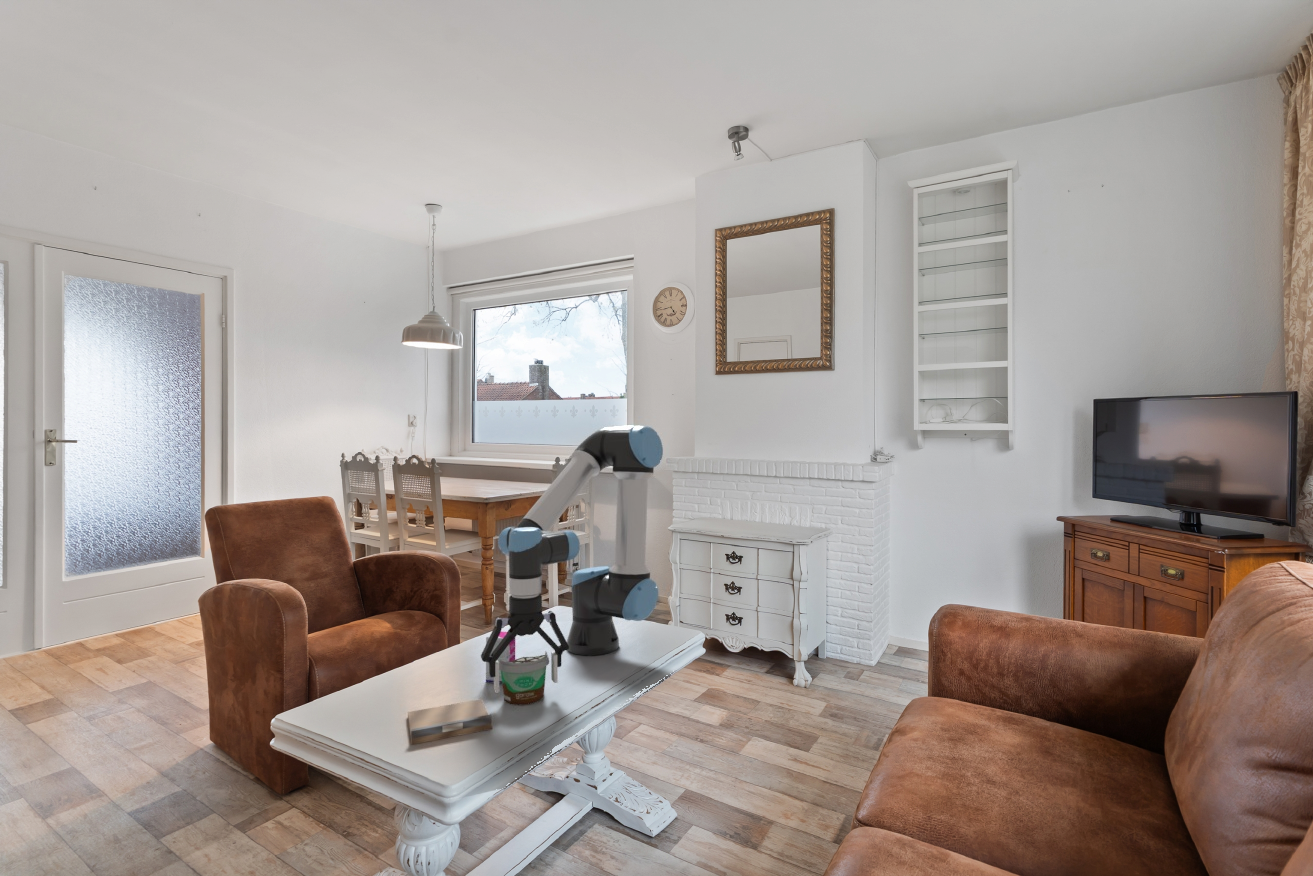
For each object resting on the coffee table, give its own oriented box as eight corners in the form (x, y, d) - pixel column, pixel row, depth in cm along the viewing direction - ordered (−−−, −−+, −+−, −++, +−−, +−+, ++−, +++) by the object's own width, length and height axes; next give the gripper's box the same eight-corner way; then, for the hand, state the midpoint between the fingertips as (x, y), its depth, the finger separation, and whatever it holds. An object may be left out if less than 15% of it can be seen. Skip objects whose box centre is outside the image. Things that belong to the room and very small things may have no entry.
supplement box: (507, 684, 162) (506, 638, 162) (485, 682, 163) (484, 637, 163) (516, 675, 168) (515, 631, 168) (495, 674, 169) (494, 630, 169)
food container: (504, 711, 146) (503, 667, 146) (497, 702, 151) (497, 659, 151) (556, 700, 151) (556, 658, 151) (548, 691, 157) (547, 650, 157)
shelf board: (481, 704, 150) (481, 692, 150) (492, 729, 137) (491, 716, 137) (407, 717, 143) (407, 705, 143) (411, 745, 130) (411, 731, 130)
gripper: (572, 586, 160) (573, 672, 159) (468, 596, 149) (468, 688, 149) (581, 592, 153) (582, 682, 152) (472, 603, 143) (473, 700, 142)
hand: (526, 685), depth 151 cm, fingers open, 13 cm apart
